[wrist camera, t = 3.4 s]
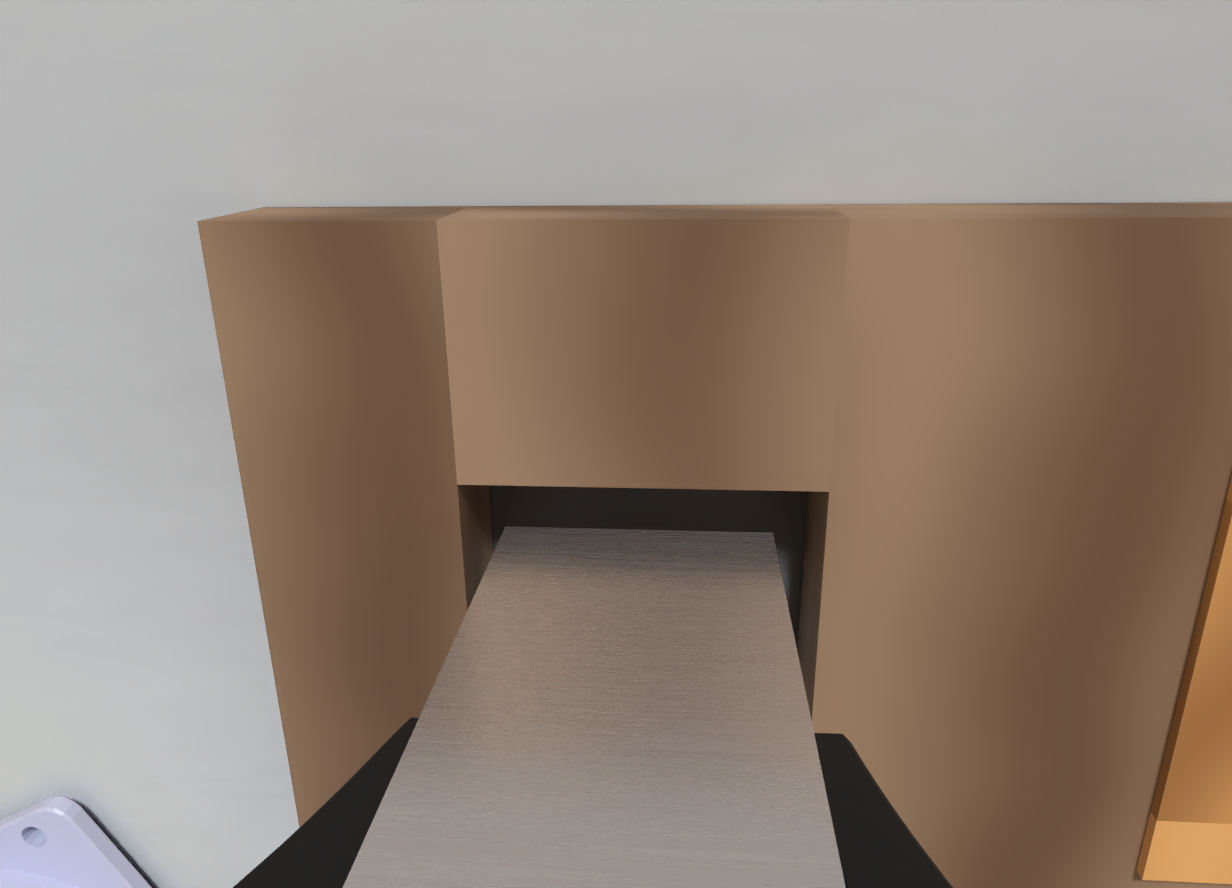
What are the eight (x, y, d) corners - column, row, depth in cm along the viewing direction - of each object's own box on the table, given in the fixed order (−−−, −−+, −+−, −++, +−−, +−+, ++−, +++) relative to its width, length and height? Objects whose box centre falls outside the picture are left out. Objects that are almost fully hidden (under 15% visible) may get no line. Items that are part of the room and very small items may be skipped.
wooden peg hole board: (356, 855, 18) (314, 948, 16) (262, 207, 14) (190, 223, 12) (1614, 920, 17) (1745, 1035, 15) (1969, 198, 12) (2229, 214, 10)
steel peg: (517, 744, 15) (344, 1384, 7) (505, 526, 13) (275, 1037, 6) (761, 755, 15) (838, 1432, 7) (773, 532, 13) (883, 1078, 6)
